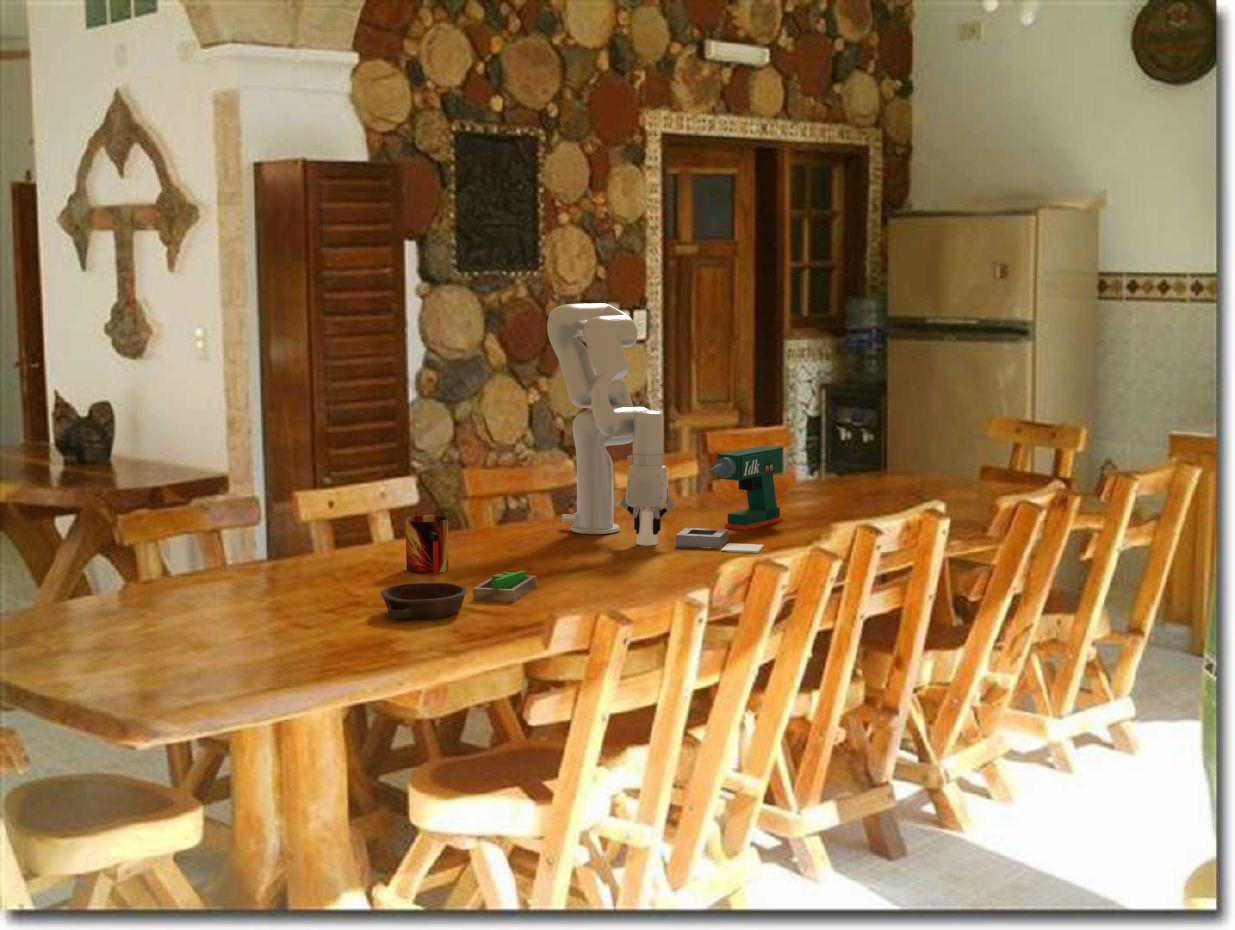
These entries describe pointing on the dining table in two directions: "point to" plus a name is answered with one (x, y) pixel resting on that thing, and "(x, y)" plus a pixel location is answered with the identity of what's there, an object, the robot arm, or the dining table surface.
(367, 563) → the dining table surface
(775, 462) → the power tool
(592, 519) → the robot arm
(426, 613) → the dish
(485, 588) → the tray
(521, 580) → the green bumpy block
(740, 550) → the pad
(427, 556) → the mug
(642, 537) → the pepper shaker
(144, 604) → the dining table surface
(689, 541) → the block
